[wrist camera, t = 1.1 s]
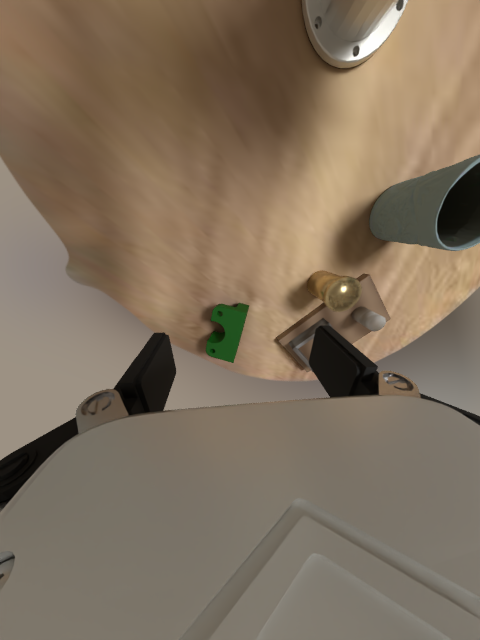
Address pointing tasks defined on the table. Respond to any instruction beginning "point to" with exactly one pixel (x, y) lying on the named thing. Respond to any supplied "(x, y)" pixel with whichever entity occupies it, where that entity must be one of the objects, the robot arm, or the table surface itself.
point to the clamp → (227, 331)
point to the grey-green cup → (432, 209)
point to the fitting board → (337, 322)
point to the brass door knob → (335, 290)
